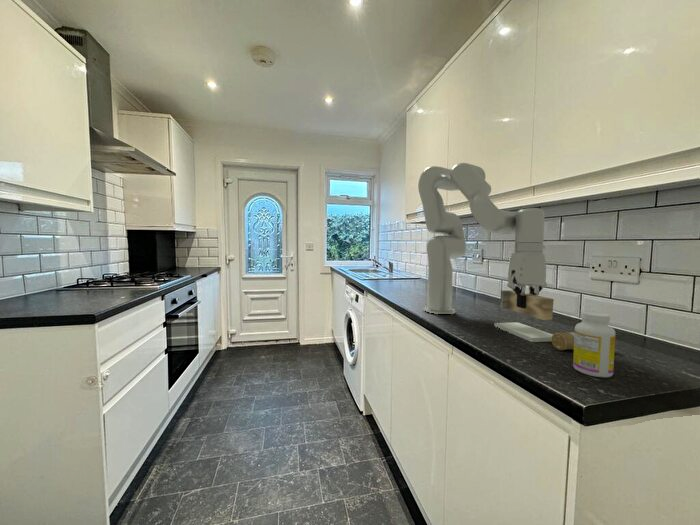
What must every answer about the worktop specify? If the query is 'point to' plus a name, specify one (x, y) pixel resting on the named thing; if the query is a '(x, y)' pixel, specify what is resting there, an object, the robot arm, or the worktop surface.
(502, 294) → the light brown wooden block
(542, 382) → the worktop surface
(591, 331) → the supplement bottle
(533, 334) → the board
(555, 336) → the sprinkles bottle
